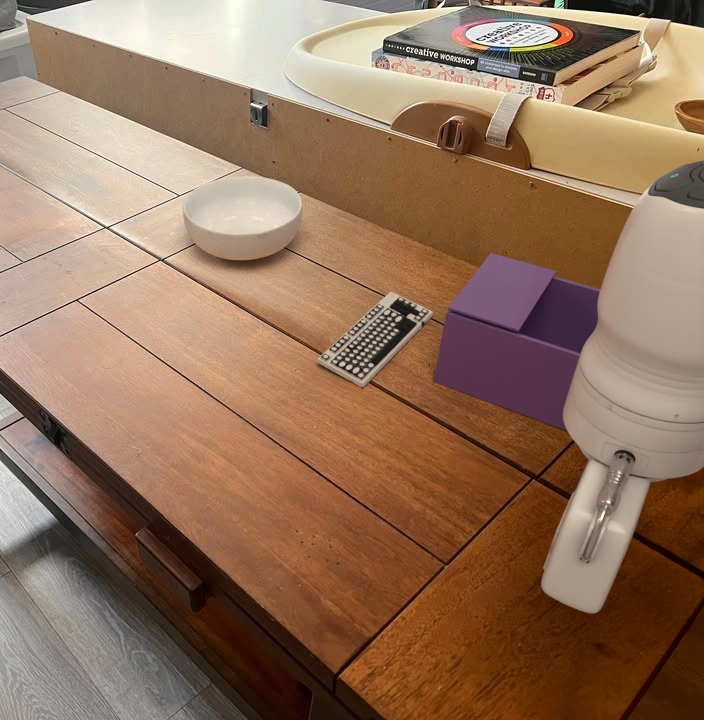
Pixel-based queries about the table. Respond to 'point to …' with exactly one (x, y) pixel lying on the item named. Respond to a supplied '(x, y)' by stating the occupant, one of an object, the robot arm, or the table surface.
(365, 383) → the keyboard
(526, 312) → the box
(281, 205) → the cereal bowl
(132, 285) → the table surface
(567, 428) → the robot arm
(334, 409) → the table surface
